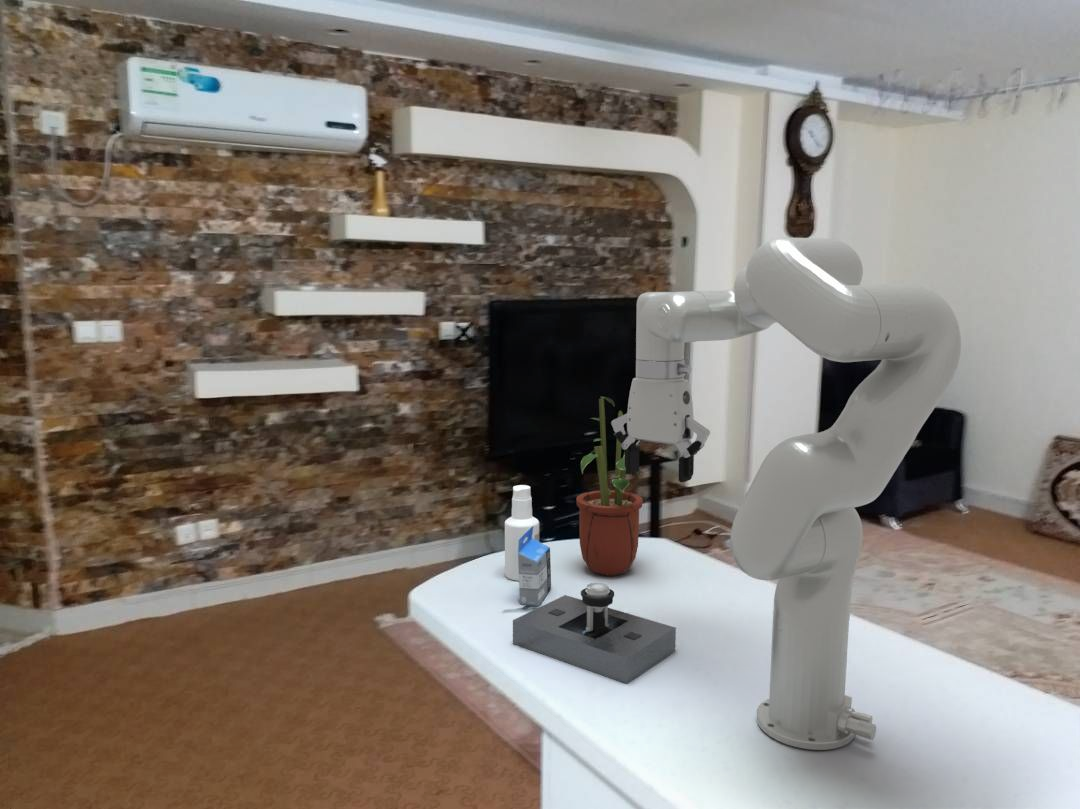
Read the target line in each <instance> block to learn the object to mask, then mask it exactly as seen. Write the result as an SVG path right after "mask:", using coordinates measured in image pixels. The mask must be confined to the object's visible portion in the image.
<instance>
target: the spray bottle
mask: <svg viewBox="0 0 1080 809" xmlns="http://www.w3.org/2000/svg"><path fill="white" fill-rule="evenodd" d="M531 494H532V492H531V486H529V485H527V484H519V485H513V487H512V498H511V516H510V517H508V518H507V519H506V520H505V521H504V576H505V577H506V578H507V579H509V580H511V581H515V582H517V581H518V582H519V568H518V541H519V539H520V538H521V537H522V536H523V535H524V534H525V533H526V532H527V531H528V530H529V529H530V528H531V527H532V526H534V527H533V533H532V538H533V539H535V540H537V541H539V542H540V521H539V519H538V518H536V517H534V516H533V506H532V505H533V504H532V502H533V500H532V498H533V497H532V495H531ZM526 540H527V538H526V537H525V540H524V541H523V543H524V542H525V541H526Z"/></svg>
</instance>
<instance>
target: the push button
mask: <svg viewBox="0 0 1080 809" xmlns="http://www.w3.org/2000/svg"><path fill="white" fill-rule="evenodd" d="M580 596H581V600H582V602H583V603H585V604H586V605H587V627H586V631H583V632H582V635H584V636H587V637H591V638H594V639H598V638H600V637H602V636H603V635H605V634H607V633H609V632H610V631H612V629H610V628H608V626H609V624H608V608H609V606H610V605H612V604H613V602H614V597H615V591H614V590H612V589H611V588H610V587H609V585H608V584H606V583H603V582H592V583H591V582H590V583H588V584H587V585H586V587H585V588H583V589H581V591H580Z"/></svg>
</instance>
